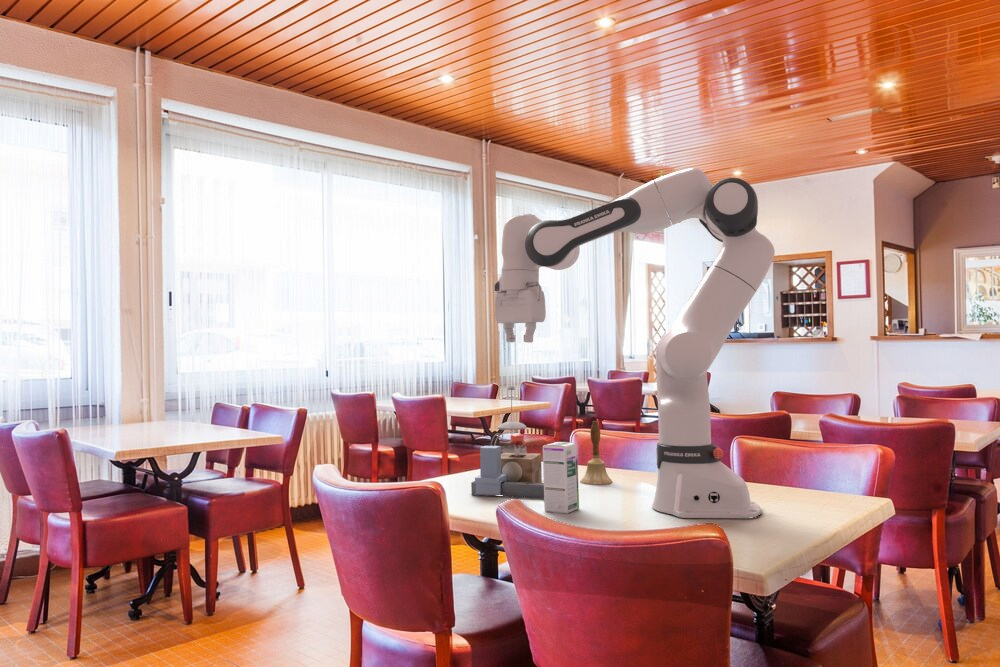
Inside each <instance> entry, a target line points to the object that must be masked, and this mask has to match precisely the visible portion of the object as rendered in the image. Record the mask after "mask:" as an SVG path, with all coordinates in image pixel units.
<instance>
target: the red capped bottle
mask: <svg viewBox="0 0 1000 667" xmlns="http://www.w3.org/2000/svg"><path fill="white" fill-rule="evenodd" d="M510 440H511V444H515V457H520V446H521V445H524V444H525V443H524V441H525V435H524V434H511V435H510Z"/></svg>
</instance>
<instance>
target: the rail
mask: <svg viewBox="0 0 1000 667" xmlns="http://www.w3.org/2000/svg"><path fill="white" fill-rule="evenodd" d="M470 487H471V496H483V495H482V494H476V483H475V480H473V481H472V482H471V486H470ZM501 495H503V496H502V497H505V496H509V498H530V499H544V482H542V483H530V482H504V481H503V482H501ZM512 496H513V497H512Z"/></svg>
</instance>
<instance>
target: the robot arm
mask: <svg viewBox="0 0 1000 667" xmlns="http://www.w3.org/2000/svg"><path fill="white" fill-rule="evenodd" d="M758 214H759V202H758V195H757V193H756V191H755V189H754V188H753V186H751V184H750V183H749V182H747V181H746V180H744V179H741V178H739V177H728V178H724V179H721V180H719V181H717V182H715V183H714V184H713V183H712V181H711V180H710V177H709V176H708V175H707V174H706V173H705V172H704V170H702V169H700V168H698V167H689V168H685V169H681V170H677V171H673V172H671V173H668V174H666V175H663V176H660V177H657V178H655V179H654V180H650V181H648V182H646V183H644V184H641V185H640V186H639V187H635V188H634V189H632V190H631V191H629V192H627V193H625V194H624V195H621V196H620V197H618V198H616V199H614V200H613V201H611V202H608V203H606V204H604V205H600V206H599V207H595V208H593V209H590V210H588V211H585V212H583V213H580V214H577V215H575V216H572V217H569V218H566V219H559V220H557V219H556V220H554V219H553V220H542V219H540V218H539V217H537V215H535V214H532V213H527V214H525V213H522V214H516V215H513V216H511V217H510V218H508V219H507V220H506V221H505V223H504V226H503V231H502V239H501V255H502V260H503V262H502V266H501V275H500V277H499V279H497V281H496V282H495V283H494V285H493V293H495V297H494V317H495V321H496V323H497V324H503V330H504V333H505V336H506V337H505V341H506V343H515V342H516V334H515V333H514V332H515V331H514V328H515V324H525V326H524V327H525V332H524V334H523V342H524V343H531V344H532V343H534V335H535V331H536V329H537V323H544V322H545V320H546V316H547V315H546V313H547V312H546V298H545V297H546V295H545V292H544V291H543V289H542V286H541V284H540V283H539V282H540V281H539V279H540V277H539V276H540V274H539V273H540V268H543V267H545V268H549V269H551V270H554V271H555V270H556V271H562V270H566V269H568V268H570V267H571V266H573V265H574V264H575V263H576V262H577V260H578V258H579V255H580V246H583V245H585V244H588V243H589V242H593V241H595V240H598V239H601V238H602V237H605V236H608V235H611V234H615V233H631V234H632V233H633V234H639V235H646V234H650V233H655V232H659V231H662V230H664V229H667V228H669V227H671V226H675V225H677V224H678V223H681V222H683V221H686V220H689V219H694V218H695V219H698V221H699V223H700V224H702V226H703V227H704V228H705V229H706V230H707V232H708V233H709V234H710V235H711V236H712V237H713V238H714V239H715V240H717V241H719V242H721V243H722V245H721V249H720V250H719V252H718V254H717V255H716V257H715V258H714V260H713V262H712V263H711V265H710V266H709V267H708V269H707V271H706V272H705V274H704V275H703V277H701V278H702V279H701V280H700V282H698V285H697V286H696V288H695V289H694V290H693V292H692V293H691V295H690V296H689V298H688V300H687V301H686V303H685V305H684V306H683V308H682V310H681V311H680V313H679V315H678V317H677V318H676V320H675V321H674V323H673V324H672V326H671V328H670V329H669V331H668V332H667V333H666V334H664V335H663V336H662V337H661V338H660V340H659V341H658V343H657V346H656V349H655V367H656V369H655V370H656V374H655V375H656V391H657V392H656V393H657V411H658V412H657V415H658V416H657V417H658V424H657V426H658V442H657V444H656V450H655V452H656V454H655V455H656V457H655V458H656V467H657V469H658V470H657V471H658V472H657V483H656V489H655V495H654V498H653V499H654V500H653V503H652V506H651V507H652V509H653V510H655V511H658V512H661V513H663V514H669V515H673V516H676V517H677V518H683V519H685V518H686V519H747V518H746V517H755V518H757V517H756V516H758V515H760V514H762V510H761V509H762V507H761V505H760V504H759V503H757V502H755V501H752V500H751V496H750V490H749V488H748V485H747V482H746V481H745V480H744V479H743V478H742V477H741V476H740V475H739V474H737V473H736V472H735V471H733V470H732V469H731V468H730V467H728V466H727V465H725V464H724V463H723V462H722V461H721V460H722V457H723V455H724V451H723V449H722V448H720V447H719V446H718V445H716V444H714V443H712V431H711V430H712V427H711V426H712V425H711V424H712V423H711V403H710V396H709V394H710V393H709V386H708V371H709V369H710V367H711V366H712V364H713V363H714V361H715V359H716V358H717V356H718V354H720V351H721V349H722V347H723V346H724V345H725V342H726V341H727V338H728V337H729V335H730V334H731V332H732V330H733V328H734V326H735V325H736V323H737V321H738V320H739V318H740V316H741V315H742V313H743V312H744V311H745V309H746V308H747V306H748V305H749V304H750V302H751V300H752V298H753V297H754V296H755V294H756V293H757V291H758V289H759V288H760V286H761V284H762V283H763V281H764V279H765V278H766V276H767V273H768V272H769V270H770V267H771V265H772V263H773V261H774V258H775V247H774V245H773V243H772V242H771V241H770V239H769V238H767V237H766V236H765V235H764V234H762V233H760V232H759V231H758V230H757V228H756V226H757V223H758ZM760 516H761V515H760ZM741 517H742V518H741ZM743 517H745V518H743ZM758 517H759V516H758Z"/></svg>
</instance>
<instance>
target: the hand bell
mask: <svg viewBox="0 0 1000 667" xmlns="http://www.w3.org/2000/svg"><path fill="white" fill-rule="evenodd" d="M589 432H590V440H591V443H592V459H590V460H588V461H587V465H586V471H585V473H584V474H583V477H582V478H581V479H580V483H581V484H583V485H592V486H603V485H605V484H606V485H610V484H612V483H613V480H612V478H611V477H610V476H609V474H608V472H607V469H606V464H605V463H606V462H605V461H604V460H603V459H601V458H600V447H599V446H600V440H601V428H600V425H599V423H598V421H597V420H593V421H592V424H591V427H590V431H589Z"/></svg>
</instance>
